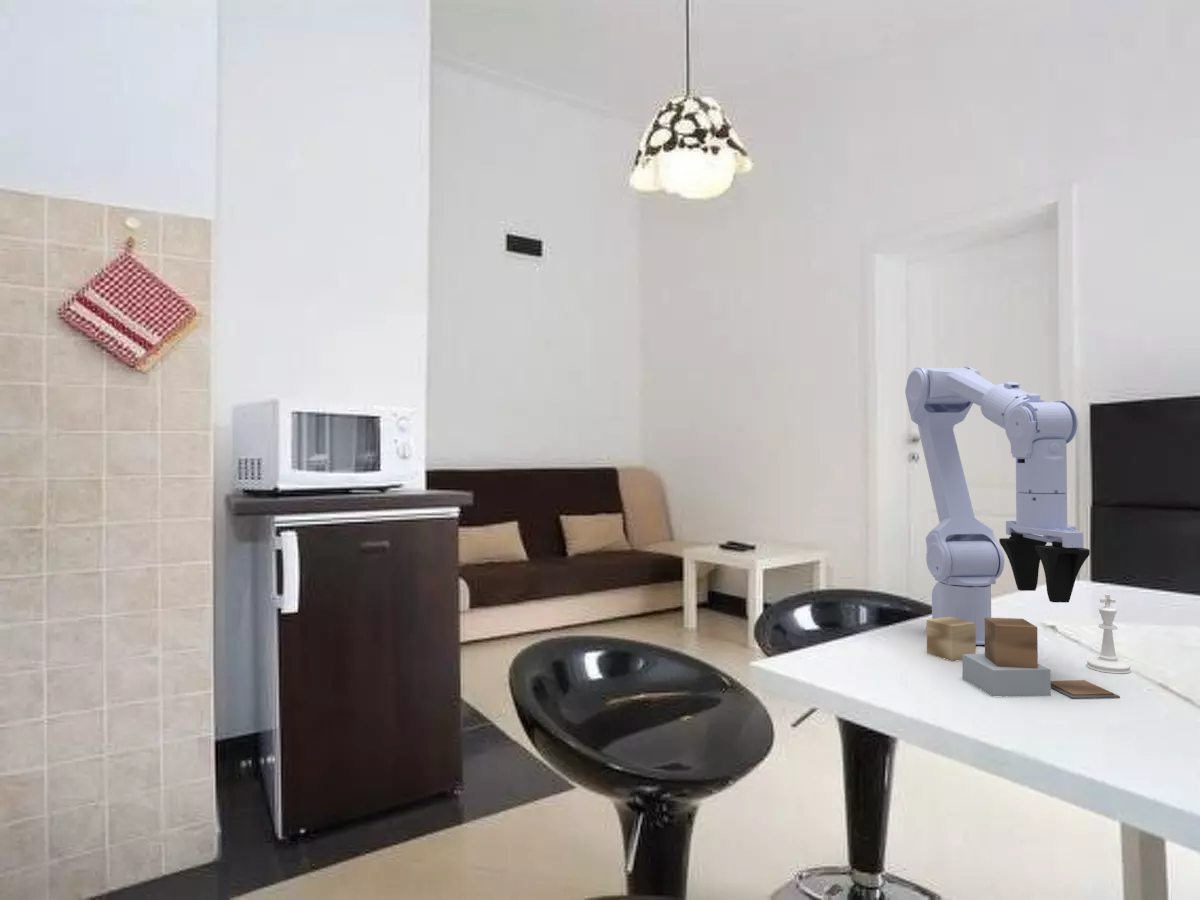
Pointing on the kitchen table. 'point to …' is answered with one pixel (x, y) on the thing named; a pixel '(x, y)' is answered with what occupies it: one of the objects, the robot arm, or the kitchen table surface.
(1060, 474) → the robot arm
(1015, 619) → the walnut block
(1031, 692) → the base block
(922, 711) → the kitchen table surface
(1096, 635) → the kitchen table surface
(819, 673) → the kitchen table surface
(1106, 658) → the chess piece
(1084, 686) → the walnut swatch
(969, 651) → the oak block
